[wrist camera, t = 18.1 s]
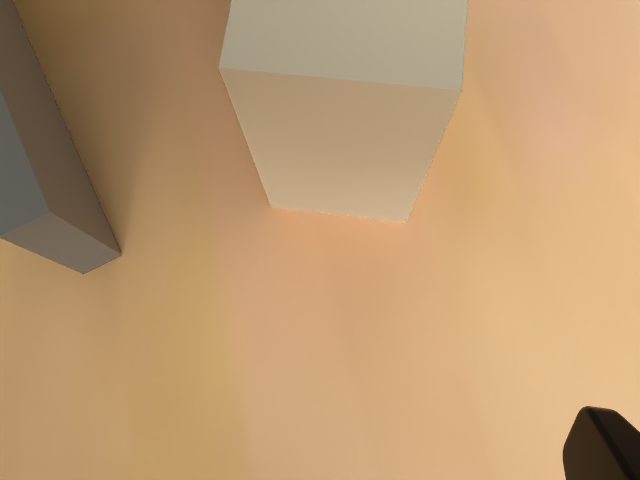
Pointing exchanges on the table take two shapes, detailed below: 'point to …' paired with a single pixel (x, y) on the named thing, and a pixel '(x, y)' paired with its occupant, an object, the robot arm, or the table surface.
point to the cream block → (344, 97)
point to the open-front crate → (43, 165)
